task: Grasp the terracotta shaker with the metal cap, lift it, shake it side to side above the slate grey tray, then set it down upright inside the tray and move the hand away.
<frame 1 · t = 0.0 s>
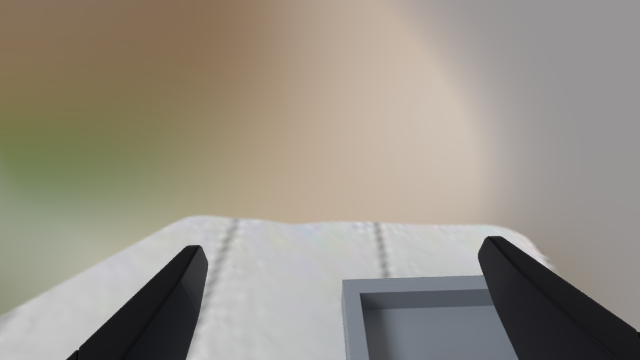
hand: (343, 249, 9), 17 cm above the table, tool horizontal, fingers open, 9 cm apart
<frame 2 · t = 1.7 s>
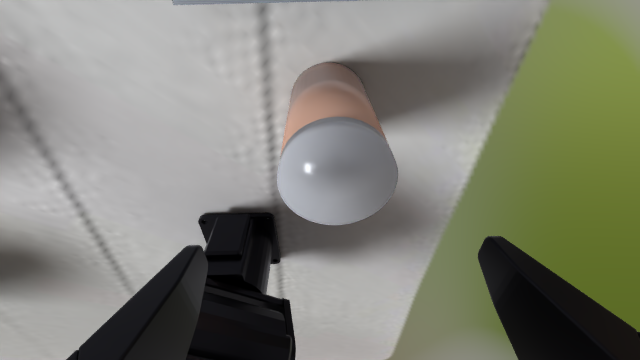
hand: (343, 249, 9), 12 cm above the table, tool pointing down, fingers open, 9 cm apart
shaker: (327, 101, 19), on the table
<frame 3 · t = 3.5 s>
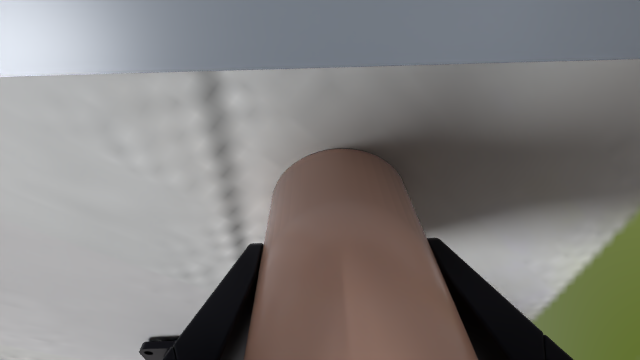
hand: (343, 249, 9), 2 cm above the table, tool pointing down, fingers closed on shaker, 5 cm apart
shaker: (338, 206, 11), on the table, touching gripper
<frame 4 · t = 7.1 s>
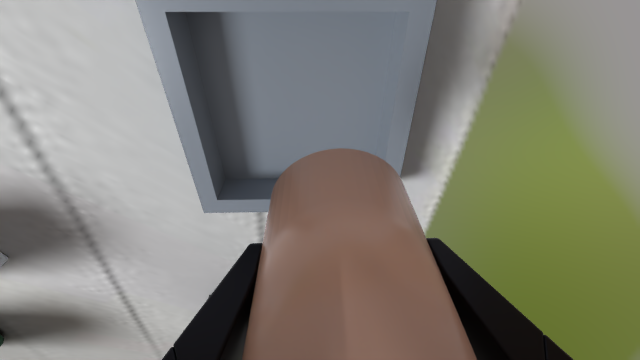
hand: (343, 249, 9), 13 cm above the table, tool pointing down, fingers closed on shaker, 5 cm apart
shaker: (337, 206, 11), point 11 cm above the table, touching gripper
tray: (296, 102, 20), on the table
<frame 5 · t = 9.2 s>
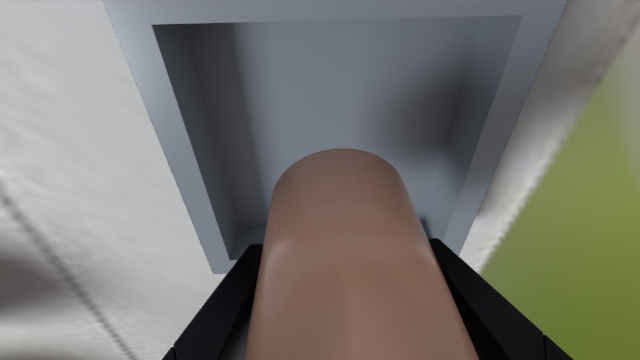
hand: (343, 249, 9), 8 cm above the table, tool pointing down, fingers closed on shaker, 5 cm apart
shaker: (338, 206, 11), point 6 cm above the table, touching gripper
tray: (331, 134, 15), on the table
when the fingers open (4 cm above the table, at t = 10.9 s): shaker stays where it is, resting on tray.
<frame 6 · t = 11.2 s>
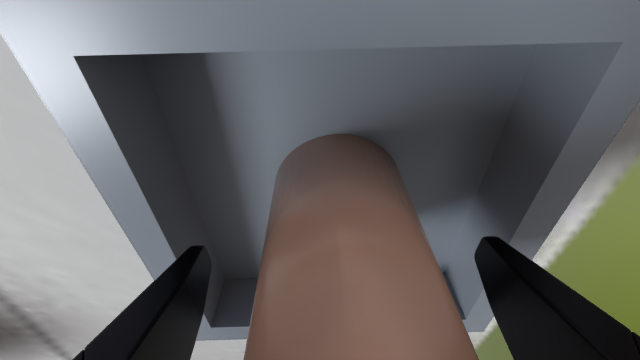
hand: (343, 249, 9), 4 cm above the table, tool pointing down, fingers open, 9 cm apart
shaker: (337, 189, 11), point 1 cm above the table, touching tray
tray: (335, 175, 12), on the table
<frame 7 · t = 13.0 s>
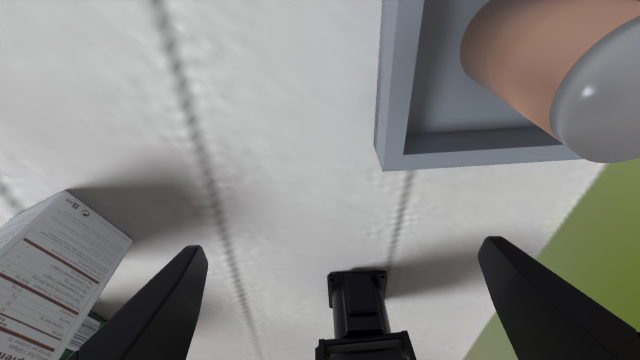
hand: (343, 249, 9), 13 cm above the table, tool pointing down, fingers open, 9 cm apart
coffee jar: (72, 319, 36), on the table
shaker: (504, 40, 16), point 1 cm above the table, touching tray
tray: (495, 36, 17), on the table
supplement box: (78, 227, 26), on the table
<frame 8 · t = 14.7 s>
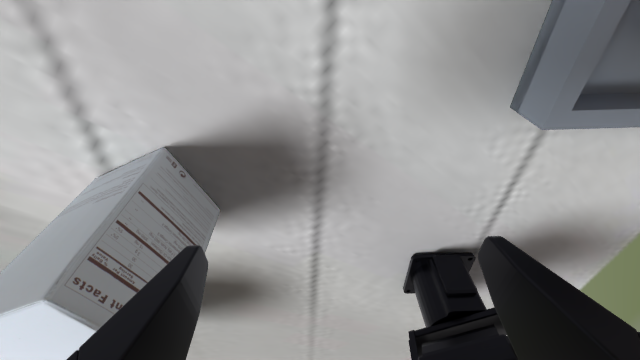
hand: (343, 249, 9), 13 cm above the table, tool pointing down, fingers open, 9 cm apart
supplement box: (163, 192, 24), on the table
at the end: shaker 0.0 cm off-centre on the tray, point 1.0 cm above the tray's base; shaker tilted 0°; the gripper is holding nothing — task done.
